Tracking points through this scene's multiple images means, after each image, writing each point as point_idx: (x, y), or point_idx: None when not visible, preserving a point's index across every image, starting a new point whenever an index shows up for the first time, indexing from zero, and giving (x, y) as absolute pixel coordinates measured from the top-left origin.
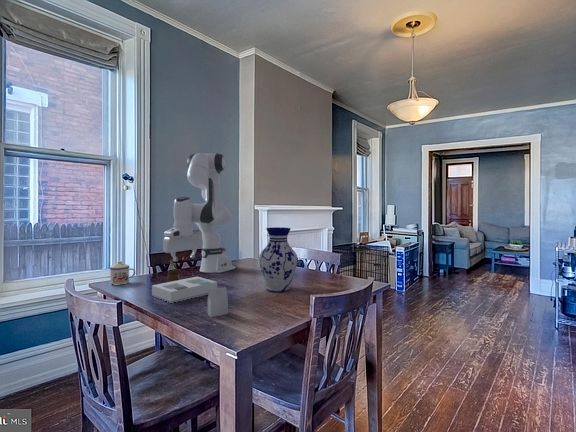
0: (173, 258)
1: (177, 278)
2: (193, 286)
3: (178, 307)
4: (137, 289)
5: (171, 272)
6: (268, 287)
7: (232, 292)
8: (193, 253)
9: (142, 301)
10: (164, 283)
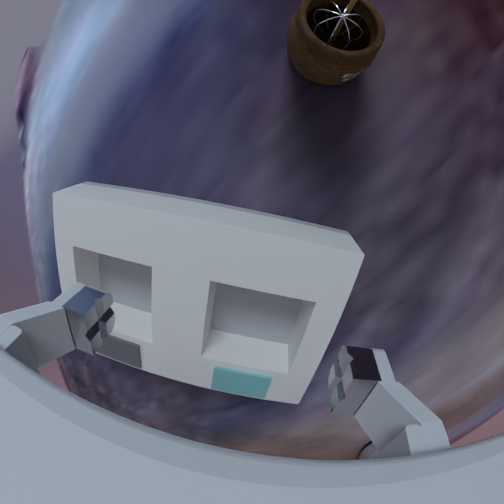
0: (62, 302)
1: (333, 78)
2: (169, 374)
3: (98, 354)
4: (127, 16)
5: (302, 36)
6: (365, 453)
7: (318, 402)
8: (368, 416)
9: (45, 212)
10: (104, 213)
